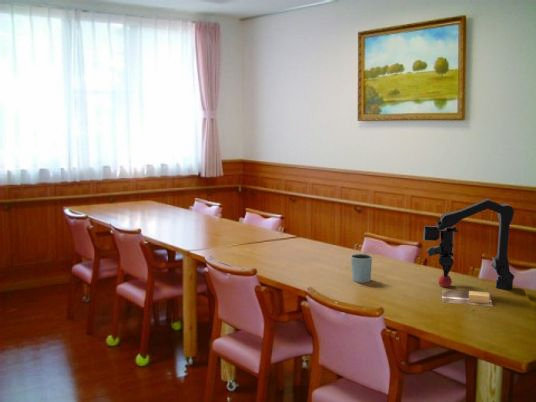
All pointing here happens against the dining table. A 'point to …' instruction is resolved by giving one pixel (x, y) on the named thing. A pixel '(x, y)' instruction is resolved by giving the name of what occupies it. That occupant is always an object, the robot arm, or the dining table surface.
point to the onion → (444, 281)
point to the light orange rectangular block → (479, 297)
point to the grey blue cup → (361, 267)
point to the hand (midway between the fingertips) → (445, 274)
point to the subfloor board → (460, 298)
